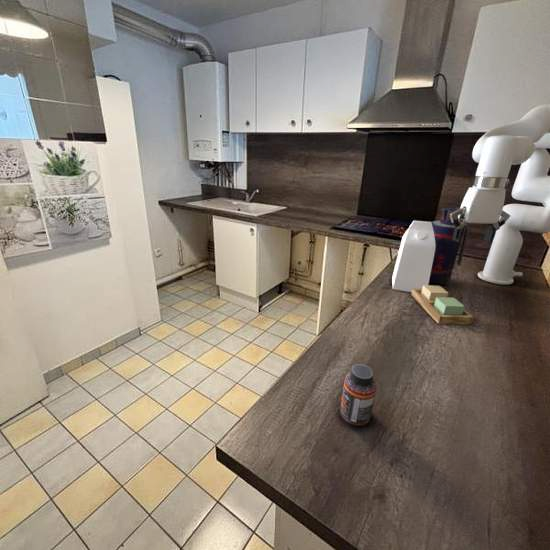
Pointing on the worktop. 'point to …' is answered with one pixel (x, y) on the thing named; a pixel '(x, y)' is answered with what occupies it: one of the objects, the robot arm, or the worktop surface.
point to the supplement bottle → (358, 395)
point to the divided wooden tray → (439, 318)
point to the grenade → (446, 247)
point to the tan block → (433, 292)
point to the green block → (448, 306)
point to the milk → (414, 257)
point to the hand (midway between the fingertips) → (472, 241)
